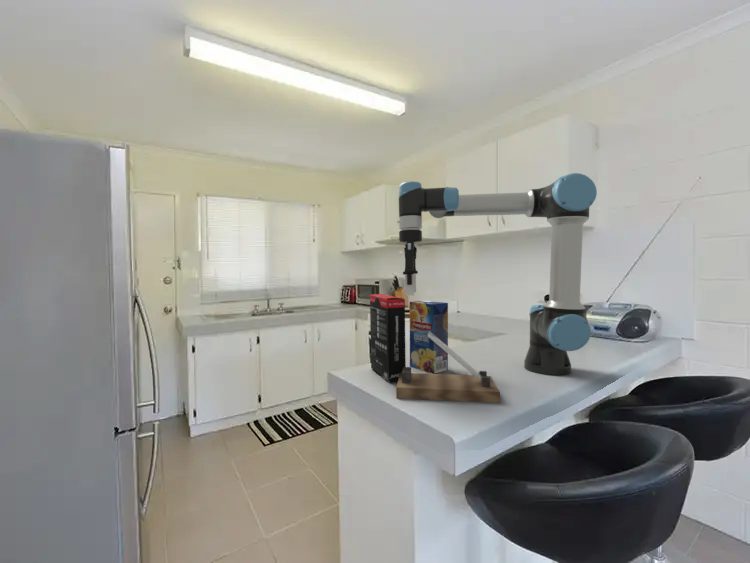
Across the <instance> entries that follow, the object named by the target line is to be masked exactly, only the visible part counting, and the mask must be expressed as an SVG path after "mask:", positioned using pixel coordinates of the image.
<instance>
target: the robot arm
mask: <svg viewBox="0 0 750 563" xmlns="http://www.w3.org/2000/svg"><path fill="white" fill-rule="evenodd" d="M459 192H460V191H459V189H458V187H451V186H446V187H433V188H432V187H430V188H424V187H422V183H421V182H420V181H419V182H418V181H405V182H401V184H399V187H398V219H399V220H397V224H398V228H399V230H400V231H398V235H399V236H398V240H399V242H400V243H405V244H404V246H405V247H404V249H403V251H404V271H402V275H404V278H405V279H404V282H405V283H404V284H405V285H404V286H405V287H404V288H405V290H404V292H405V294H404V295H405V296H414V295H415V293H417V274H418V270H417V268H416V267H417V266H416V262H417V261H416V260H417V252H418V251H417V250H418V248H417V246H416V245H415V243H421V242H422V240H423V231H422V229H423V215H422V213H423V212H424V213H426V212H429V214H430V216H431V217H433V218H434V219H440V218H441V219H442V218H446V217H462V216H463V217H466V216H467V217H470V216H506V215H507V216H510V215H512V216H515V215H517V216H518V215H525V216H526V217H527V218H546V221H547V222H548V223H549V224H550V226H551V238H550V239H551V240H550V243H551V245H550V268H549V271H550V272H549V294H548V295H549V297H548V298H549V299H548V301H547V302H546V303H545V304H534V305H532V306H530V310H529V346H528V350H527V352H526V356H525V358H524V361H523V362H524V364H523V365H524V366H523V367H524V368H525V369H526V370H528V371H530V372H533V373H538V374H542V375H549V376H551V375H553V376H562V375H568V374H571V373H572V362H571V360H570V358H569V354H568V352H574V351H578V350H580V349H582V348H583V347H584V346H586V345H587V343H589V341H590V339H591V335H592V329H591V326H590V323H589V322H588V321H587V319H586V306H585V305H584V304H582V303H581V284H582V283H581V281H582V280H581V279H582V257H583V255H582V253H583V233H584V231H583V230H584V224H585V223H586V222H587V221H588V220H589V219H590V207H591V206H592V205H593V203H594V202H595V200H596V198H597V192H598V191H597V185H596V184H595V182H594V181H593V180H592V179H591V178H590V176H588V175H586V174H582V173H578V172H572V173H569V174H565V175H563V176H560V177H558V179H556V180H555V181H554V182H552V183H551V184H549V185H546V186H544V187H541V188H533V189H532V188H531V189H530V188H529V189H528V190H527V191H526V192H502V193H501V192H500V193H499V192H498V193H476V194H475V193H474V194H473V193H472V194H460V193H459Z"/></svg>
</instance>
